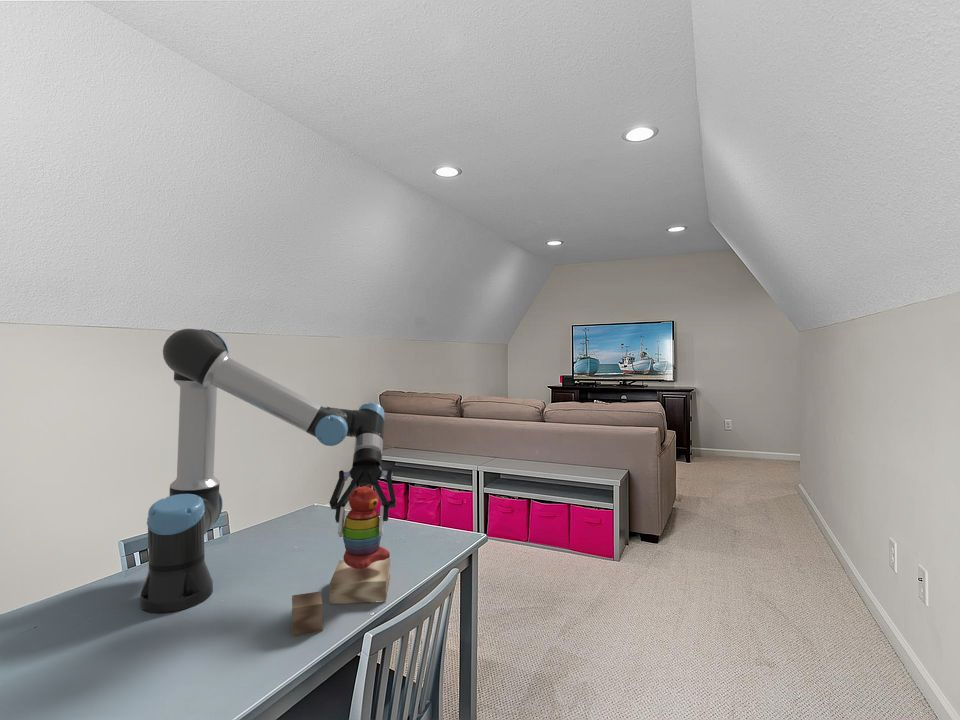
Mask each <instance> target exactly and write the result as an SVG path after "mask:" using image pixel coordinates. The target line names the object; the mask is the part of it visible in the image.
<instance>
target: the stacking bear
mask: <svg viewBox="0 0 960 720" xmlns="http://www.w3.org/2000/svg"><path fill="white" fill-rule="evenodd" d="M379 501H380V499H379V497H378V495H377V493H376V491H375V490H374V488H373V486H372V487H371V485H367V486H364V487H358V488H356V489H354V490H353V491H352V492H351V494H350V496H349V501H348V505H349V508H351V509H350V510H349V511H348V513H347V515H345V519H344V527H343V535H342V539H343V543H344V548H345V551H344V554H343V560H344V562H345V563H346V564H347V565H348V566H350V567H352V568H355V569H363V568H367V567H368V566H369V565H370V564H371V563H373V562H376V561H381V560H386V559H390V551H389V549H387V548H385V547H382V546H381V545H380V544H381V539H382V535H381V536H380V534H379V521H380V514H379V512H378V510H377V509H376V508H377V506H378V504H379Z"/></svg>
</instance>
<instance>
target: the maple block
mask: <svg viewBox="0 0 960 720" xmlns="http://www.w3.org/2000/svg"><path fill="white" fill-rule="evenodd" d="M389 581H390V582H391V558H388V559H386V560H381V561H376V562H373V563H371V564H370V565H369V566H368V567H367V568H363V569H355V568H352V567H350V566H348V565H347V564H346V563H345V562H344V559H343V560H340V559H339V560H338V563H337V566H336V568H335V570H334V572H333V575H332V576H331V580H330V581H329V605H341V604H343V605H344V604H345V605H346V604H363V603H362V602H371V603H377V602H376V601H386V602H387V599H386V598H387V597H388V593H387V592H389V588H388V587H389V586H390V582H389Z"/></svg>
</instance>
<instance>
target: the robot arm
mask: <svg viewBox="0 0 960 720" xmlns="http://www.w3.org/2000/svg"><path fill="white" fill-rule="evenodd" d="M229 355H230V354H229V347H228V345H227V343H226V341H225V339H224V338H223V337H222V336H221V335H220V334H217V333H216V332H214V331H212V330H208V329H203V328H202V329H197V328H184V329H180V330H177V331H174V332H173V333H172V334H170V335H169V336H168V338H167V339H166V340H165V342H164V344H163V348H162V357H163V360H164V362H165V364H166V365H167V366H168V368H169V369H171V370H172V371H173V382H174V383H176V384H177V385H178V386H179V389H180V390H179V408H178V409H179V411H178V412H179V414H178V438H177V439H178V441H177V461H176V462H177V466H176V478H175V480H173V481H172V482H171V483H170V484H169V496H166V497H165V498H161V499H159V500H157V501H155V502H153V504H152V505H150V507H149V508H148V513H147V518H146V520H147V521H146V525H147V544H148V545H147V547H148V548H147V550H148V551H147V553H148V554H147V556H148V558H147V559H148V572H147V573H146V574H147V575H146V578H145V580H144V583H143V585H142V586H143V587H142V590H141V593H140V595H139V597H140V598H139V600H140V602H139V603H140V604H139V605H140V606H139V607H140V608H141V609H142V608H143V609H144V610H143V609H142V610H143V611H145V610H146V612H148V611H150V612H149V613H155V612H163V613H172V612H177V611H182V610H185V609H188V608H191V607H195V606H197V605H198V604H200V603H203V602H204V601H206V600H207V599H208V598H210V596H211V595H212V594H213V593H214V581H213V578H212V576H211V573H210V571H209V569H208V565H207V563H206V561H205V535H206V533H208V531H209V530H210V529H211V527H213V526H214V525H215V523H217V521H218V520H219V519H220V516H221V513H222V510H223V506H224V505H223V501H224V500H223V497H222V494H221V493H220V480H219V479H218V478H216V477H215V475H214V473H215V472H214V471H215V445H216V443H215V442H216V424H217V423H216V421H217V420H216V418H217V395H218V389H220V390H222V391H224V392H226V393H227V394H230V395H232V396H234V397H235V398H238V399H240V400H242V401H244V402H246V403H248V404H249V405H252V406H254V407H256V408H258V409H260V410H262V411H264V412H266V413H268V414H269V415H272V416H274V417H275V418H277V419H280V420H281V421H283V422H285V423H287V424H289V425H291V426H294V427H295V428H297V429H299V430H301V431H303V432H305V433H306V434H309V435H311V436H313V437H314V438H316V439H317V440H318V441H319V443H321V444H322V445H324V446H326V447H327V446H328V447H334V446H338V445H339V444H340V443H342V442H343V441H344V440H345V438H346V437H350V438H355V441H354V447H353V455H352V464H351V465H352V466H351V469H350V470H349V471H344V470H339V471H338V480H337V483H336V484H335V487H334V490H333V491H332V492H333V493H332V495H331V497H330V500H329V502H328V503H329V506H330V507H329V508H330V509H331V510H335V516H334V517H335V518H334V519H335V522H336V524H338V526H337V534H338V537H340V538H343V527H344V523H345V518H346V510H345V507H346V505H347V504H348V503H349V496H350V494H351V492H352V491H353V490H354V489H356V488H358V487H366V486H367V485H371V487H372V489H373V490H374V491H375V493H376V494H377V496H378V499H379V501H380V503H381V505H380V508H379V509H380V510H379V518H380V521H379V534H380V536H381V537H382V536H384V524H385V522H388V521H389V514H390V513H389V512H390V509H392V508H393V509H394V508H396V507H397V501H396V494H395V489H394V486H393V485H394V484H393V476H394V475H393V470H392V469H388V470H383V468H382V460H383V456H382V455H383V448H384V433H385V432H384V431H385V423H386V422H385V421H386V419H385V410H384V408H383V406H381V405H380V404H378V403H374V402H368V403H363V404H362V405H361V406H360V407H359V409H345V408H339V407H337V408H336V407H330V406H322V405H320V403H319V404H318V403H317V402H315V401H313V400H311V399H309V398H307V397H305V396H303V395H302V394H299V393H298V392H296V391H293V390H292V389H290V388H288V387H286V386H285V385H282V384H281V383H278V382H277V381H274V380H272V379H271V378H269V377H267V376H265V375H263V374H261V373H259V372H257V371H255V370H254V369H252V368H250V367H248V366H246V365H244V364H242V363H240V362H238V361H236V360H234V359H233V358H230V356H229ZM349 477H350V478H351V479H352V480H351V481H350V484H349V485H348V486H347V488H346V489H345V491H344V493H343V494H342V492H343V489H344V488H345V487H344V486H345V484H346V482H347V480H348V479H349ZM381 477H383V479H384V480H386V484H387V489H388V490H387V491H388V495H389V500H388V499H387V497H386V495H385V492H384V491H383V489H382V487H381V485H380V483H379V480H380V479H381ZM341 494H342V495H341ZM171 611H172V612H171Z"/></svg>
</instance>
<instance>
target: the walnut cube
mask: <svg viewBox="0 0 960 720" xmlns="http://www.w3.org/2000/svg"><path fill="white" fill-rule="evenodd" d="M291 610H292V611H291V612H292V613H291V618H292V619H291V620H292V623H291V625H292V626H291V627H292V629H291V631H292V637H297V636H304V635H308V634H313V633H314V634H315V633H321V632H323V599H322V591H313V592H307V593H299V594H294V595H291Z"/></svg>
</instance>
